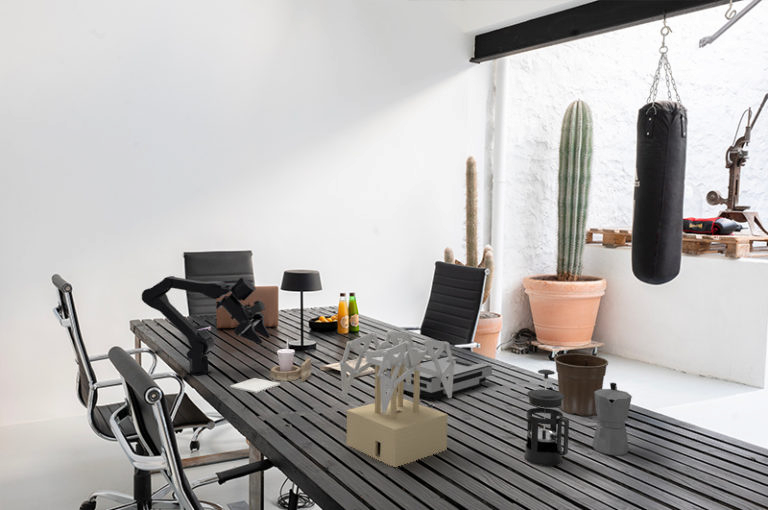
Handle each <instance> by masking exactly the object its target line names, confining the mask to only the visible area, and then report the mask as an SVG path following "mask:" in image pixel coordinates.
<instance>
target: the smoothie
mask: <svg viewBox="0 0 768 510" xmlns="http://www.w3.org/2000/svg"><path fill="white" fill-rule="evenodd" d="M276 352H277V353H276V354H277V355H278V357H277V358H278V366H280V372H290V371H292V366H293V365H294V356H295V353H296V351H295V349H290V348H289V338H287V339H286V348H282V349H278V350H277V351H276Z"/></svg>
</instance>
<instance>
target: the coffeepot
mask: <svg viewBox="0 0 768 510" xmlns="http://www.w3.org/2000/svg"><path fill="white" fill-rule="evenodd" d="M609 385H610V386H609V387H610V388H602V389H599V390H597V391H595V392H594V395H595V404H596V413H597V414H596V417H597V418H598V423H597V424H596V426H595V431H594V435H593V439H592V443H591V445H592V448H593V449H594V450H595V451H596V452H597V453H600V454H605V455H608V456H623V455H625V454H627V453H628V452H629V451H630V450H629V441H628V439H629V438H628V432H627V427H626V425H625V424H626V421H627V420H628V417H629V412H630V406H631V402H632V397H633V395H631V394H630V393H628V392H627V391H625V390H620V389H618V387H617V383H616V382H610V383H609Z"/></svg>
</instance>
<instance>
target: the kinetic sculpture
mask: <svg viewBox="0 0 768 510" xmlns="http://www.w3.org/2000/svg"><path fill="white" fill-rule="evenodd" d="M412 338H413V334H412V333H410V332H401V331H391V330H388V331H386V336H385V340H384V341H382V342H379V339H378V335H377V333H375V332H373V331H372V332H371V331H370V332H369V333H367V334H364V335H362V336H360V337H358V338H355V339H353V340H349V341H346V346H345V349H344V352H343V356H342V360H340V361H339V362H340V363H339V362H338V363H339V364H340V368H341V371H340V379H341V393H342V395H341V397H342V399H346V398H347V395H348V393H349V391H350V389H351V386H352V384H353V381H354V379H355V378H354V376H355V375H356V376H357V375H360V373H362V372H363V371H364V370H366V369H367V368H368V367H370V366H371V365H373V364H375V373H374V402H373V403H369V404H365V405H362V406H357V407H354V408H350V409H347V410H346V446H347V445H349V446H351V447H353V448H355V449H357V450H359V451H361V452H363V453H365V454H367V455H366V456H368V455H369V456H368V457H370V456H371V457H370V458H372V457H373V458H372V459H374V458H375V459H374V460H376V459H377V460H376V461H378V460H379V462H380V461H382V462H384V463H383V464H385V463H386V464H385V465H387V464H388V465H387V466H389V465H390V466H389V467H391V466H393V467H397V468H399V467H398V466H400V467H402V466H401V465H403V466H405V465H404V464H406V465H408V464H411V463H413V461H414V462H416V460H417V461H419V460H418V459H420V460H422V459H421V458H423V459H425V458H424V457H426V458H428V457H427V456H429V457H430V455H431V456H434V455H437V454H440V453H442V451H443V452H446V451H447V448H448V414H447V413H446V412H442V411H439V410H437V409H434V408H431V407H428V406H426V405H425V406H424V405H422V404H420V395H419V387H420V372H423V373H426V374H429V375H432V376H435V377H439V378H441V381H442V383H443V386H444V388H445V391H446V393H447V396H448V397H447V398H448V399H451V398H452V396H453V395H452V387H453V375H454V365H455V364H456V361H454V360H453V358H452V357H453V354H452V351H451V347H450V346H451V345H450V343H449V342H448V341H442V340H441V341H440V340H439V341H438V340H431V339H428V340H427V339H423V340H422V344H423V345H424V350H422V351H419V350H418V349H417V348H415V346H414V343H413V342H414V341H413V339H412ZM398 339H401V341H400V342H399V340H398ZM372 341H373V345H374V348H375V350H370V349H369V347H370V345H371V343H372ZM363 343H364V344H363ZM360 344H363V345H362V347H361V346H360ZM434 348H436V349H437V350H434ZM351 349H352V350H353V351H355V352H356V353H357V354H358V358H357V359H358V360H357V363H356V365H355V368H354V369H353V368H352V367H351V366H349V365H348V364H347V363H346V361H348V357H349V354H350V351H351ZM444 350H445V351H446V356H447V355H448V360H449V364H448V366H447V367H446V368H445V370H444V371H443V372H442V371H441V368H440V365H439V362H438V358H439V357H440V355H441V354H442V353H443V352H444ZM364 357H366V362H368V363H366V364H365V365H364V366H362V367H361V368H359V367H360V364H361V361H362V359H363V358H364ZM420 360H421V361H426V360H432V361H433V362H434V365H435V367H436V370H437V372H436V371H433V370H430V369H427V368H424V367H421V366H420ZM406 367H407V368H406ZM384 368H388V369H391V379H389V378H388V377H387V376H386V374H385V373H384V372H385V371H384ZM346 372H348V373H350V375H349V378H347V375H348V374H347V373H346ZM413 372H414V393H413V397H412V398H413V400H412V401H410V400H408V399H405V398H404V392H403V382H404V379H405V380H406V382H407V384H408V385H410V384H411V377H412V373H413ZM448 373H449V377H448V381H447V378H446V375H447V374H448ZM397 374H398V378H397ZM409 382H410V383H409ZM397 384H398V390H397ZM387 387H389V388H388V389H387ZM449 395H450V396H449ZM349 446H348V447H349ZM351 447H350V448H351ZM353 448H352V449H353ZM355 449H354V450H355ZM357 450H356V451H357ZM445 450H446V451H445ZM359 451H358V452H359ZM361 452H360V453H361ZM439 452H440V453H439ZM363 453H362V454H363ZM436 453H437V454H436ZM365 454H364V455H365ZM433 454H434V455H433ZM382 462H381V463H382ZM410 462H411V463H410ZM407 463H408V464H407ZM393 467H392V468H393Z"/></svg>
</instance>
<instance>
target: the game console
mask: <svg viewBox="0 0 768 510" xmlns="http://www.w3.org/2000/svg"><path fill="white" fill-rule="evenodd" d="M452 358H453V360H454V361H456V364H455V365H454V375H453V387H452V396H455V395H458V394H462V393H465V392H468V391H471V390H475V389H479V388H481V387H482V383H485V382H487V380H486V379H487V377H490V376H493V366H492V365H489V364H485V363H476V364H470V363H466V362H462V361H459V357H455V356H452ZM438 362H439V365H440V368H441V371H442V372H443V371H444V370H445V368H446V367H447V366H448V364H449V360H448V355H447V354H446V355H443V356H439V357H438ZM420 366H421V367H424V368H427V369H430V370H433V371H436V372H437V370H436V367H435V365H434V362H433V361H432V360H421V362H420ZM406 368H407V367H406ZM385 372H386V374H385V375H386V376H387V377H388V378H389V379H391V369H388V368H387V370H386V371H385ZM448 377H449V373H448V374H447V375H446V378H447V381H448ZM397 378H398V374H397ZM409 383H410V382H409ZM397 391H398V384H397ZM407 392H409V393H413V394H414V372H413V373H412V377H411V384H410V385H408V384H407V382H406V380H405V379H404V382H403V393H407ZM419 396H420V398H423V399H426V400H429V401H432V402H436V401H439V400H442V399H446V398H448V396H447V393H446V391H445V388H444V386H443V383H442V381H441V378H439V377H435V376H432V375H429V374H426V373H423V372H420V387H419ZM449 397H450V395H449Z"/></svg>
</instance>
